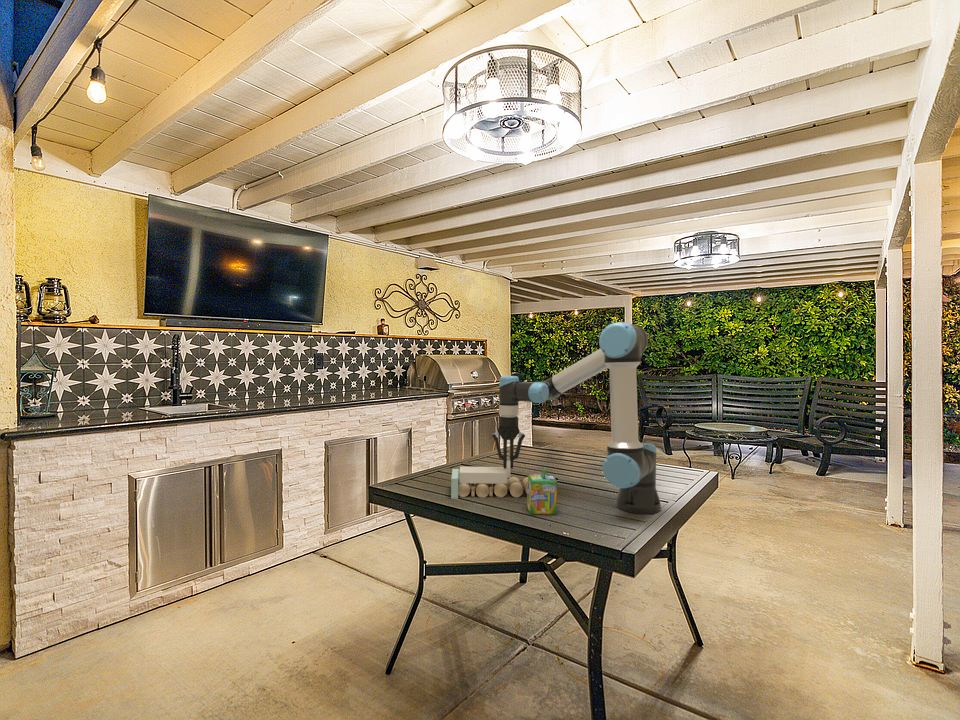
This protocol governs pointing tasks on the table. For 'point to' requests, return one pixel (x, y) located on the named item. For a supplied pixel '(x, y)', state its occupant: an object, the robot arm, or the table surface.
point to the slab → (483, 475)
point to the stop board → (454, 483)
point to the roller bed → (496, 488)
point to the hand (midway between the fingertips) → (508, 476)
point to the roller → (482, 489)
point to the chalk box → (542, 493)
